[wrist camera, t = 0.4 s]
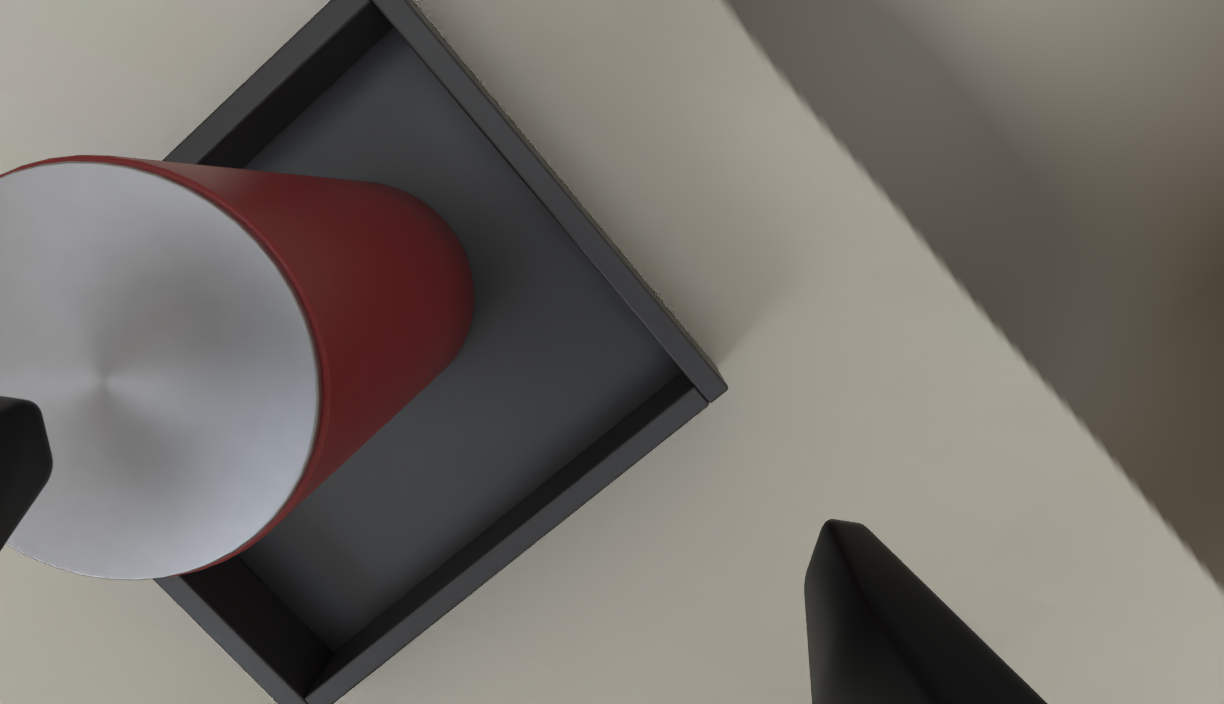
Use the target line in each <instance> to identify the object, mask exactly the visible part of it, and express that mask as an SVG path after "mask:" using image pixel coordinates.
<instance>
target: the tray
mask: <svg viewBox="0 0 1224 704" xmlns="http://www.w3.org/2000/svg"><path fill="white" fill-rule="evenodd" d="M162 161H166V162H176V163H186V164H196V165H206V166H216V167H226V168H236V169H246V170H256V171H266V172H276V173H286V174H296V175H306V176H316V177H326V178H336V179H346V180H356V181H366V182H373V183H380V184H385V185H388V186H391V187H395V188H398V189H400V190H402V191H405V192H407V193H409V194H411V195H413V196H415V197H416V198H418V199H419V200H421V201H423V202H424V203H426V204H427V205H428V206H429V207H431V208H432V209H433V210H434V211H436V212H437V213H438V215H439V216H440V217H441V218H442V219H443V220H444V221H445V222H446V223H447V224H448V226H449V227H450V228H451V229H452V231H453V232H454V233H455V235H456V237H457V238H458V240H459V242H460V244H461V245H462V247H463V250H464V252H465V254H466V257H467V259H468V262H469V266H470V270H471V273H472V279H473V286H474V307H473V315H472V320H471V324H470V327H469V331H468V333H467V336H466V338H465V341H464V343H463V345H462V347H461V348H460V350H459V352H458V354H457V355H456V357H455V358H454V359H453V360H452V362H451V363H450V364H449V365H448V367H447V368H446V369H444V370H443V371H442V372H441V373H440V374H439V375H438V376H437V377H436V378H435V379H434V380H433V381H432V382H431V383H430V384H429V385H428V386H426V387H425V388H424V389H423V390H422V391H421V392H420V393H419V394H418V395H417V396H416V397H415V398H414V399H412V400H411V401H410V402H409V403H408V404H407V405H406V406H405V407H404V408H403V409H402V410H401V411H399V412H398V413H397V414H396V415H395V416H394V417H393V418H392V419H391V420H390V421H389V422H388V423H387V424H385V425H384V426H383V427H382V428H381V429H380V430H379V431H378V432H377V433H376V434H375V435H374V436H373V437H371V438H370V439H369V440H368V441H367V442H366V443H365V444H364V445H363V446H362V447H361V448H360V449H359V450H357V451H356V452H355V453H354V454H353V455H352V456H351V457H350V458H349V459H348V460H347V461H346V462H345V463H343V464H342V465H341V466H340V467H339V468H338V469H337V470H336V471H335V472H334V473H333V474H332V475H330V476H329V477H328V478H327V479H326V480H325V481H324V482H323V483H322V484H321V485H320V486H319V487H318V488H316V489H315V490H314V491H313V492H312V493H311V494H310V495H309V496H308V497H307V498H306V499H305V500H304V501H302V502H301V503H300V504H299V505H298V506H297V507H296V508H295V509H294V510H293V511H292V512H291V513H290V514H288V515H287V516H286V517H285V518H284V519H283V520H282V521H281V522H280V523H279V524H278V525H277V526H276V527H274V528H273V529H272V530H271V531H270V532H269V533H268V534H267V535H266V536H264V537H263V538H261V539H260V540H259V541H257V542H256V543H255V544H253V545H252V546H250V547H249V548H248V549H246V550H244V551H243V552H241V553H239V554H237V555H235V556H233V557H231V558H230V559H228V560H226V561H224V562H221V563H219V564H216V565H213V566H211V567H208V568H205V569H203V570H200V571H196V572H191V573H187V574H183V575H178V576H174V577H164V578H154V579H153V580H154V581H155V582H156V583H157V584H158V585H159V586H160V587H161V588H162V589H164V590H165V591H166V592H167V593H168V594H169V595H170V596H171V597H172V598H173V599H174V600H175V601H176V602H177V603H178V604H179V605H180V606H181V607H182V608H183V609H184V610H185V611H186V612H187V613H188V614H189V615H190V616H191V617H192V618H193V619H194V620H195V621H196V622H197V623H198V624H199V625H200V626H201V627H202V628H203V629H204V630H205V631H206V632H207V633H208V634H209V635H210V636H211V637H212V638H213V639H214V640H215V641H216V642H217V643H218V644H219V645H220V646H221V647H222V648H223V649H224V650H225V651H226V652H227V653H228V654H229V655H230V656H231V657H232V658H233V659H234V660H235V661H236V662H237V663H238V664H239V665H240V666H241V667H242V668H243V669H244V670H245V671H246V672H247V673H248V674H249V675H250V676H251V677H252V678H253V679H254V680H255V681H256V682H257V683H258V684H259V685H260V686H261V687H262V688H263V689H264V690H265V691H266V692H267V693H268V694H269V695H270V696H271V697H272V698H273V699H274V700H275V701H276V702H277V703H278V704H333V703H335V702H336V701H337V700H338V699H340V698H341V697H342V696H343V695H345V694H346V693H347V692H348V691H350V690H351V689H352V688H354V687H355V686H356V685H357V684H359V683H360V682H361V681H362V680H364V679H365V678H366V677H367V676H369V675H370V674H371V673H372V672H374V671H375V670H376V669H377V668H379V667H380V666H381V665H382V664H384V663H385V662H386V661H387V660H389V659H390V658H391V657H393V656H394V655H395V654H396V653H398V652H399V651H400V650H401V649H403V648H404V647H405V646H406V645H408V644H409V643H410V642H411V641H413V640H414V639H415V638H416V637H418V636H419V635H420V634H421V633H423V632H424V631H425V630H426V629H428V628H429V627H430V626H432V625H433V624H434V623H435V622H437V621H438V620H439V619H440V618H442V617H443V616H444V615H445V614H447V613H448V612H449V611H450V610H452V609H453V608H454V607H455V606H457V605H458V604H459V603H460V602H462V601H463V600H464V599H465V598H467V597H468V596H469V595H471V594H472V593H473V592H474V591H476V590H477V589H478V588H479V587H481V586H482V585H483V584H484V583H486V582H487V581H488V580H489V579H491V578H492V577H493V576H494V575H496V574H497V573H498V572H499V571H501V570H502V569H503V568H504V567H506V566H507V565H508V564H510V563H511V562H512V561H513V560H515V559H516V558H517V557H518V556H520V555H521V554H522V553H523V552H525V551H526V550H527V549H528V548H530V547H531V546H532V545H533V544H535V543H536V542H537V541H538V540H540V539H541V538H542V537H543V536H545V535H546V534H547V533H549V532H550V531H551V530H552V529H554V528H555V527H556V526H557V525H559V524H560V523H561V522H562V521H564V520H565V519H566V518H567V517H569V516H570V515H571V514H572V513H574V512H575V511H576V510H577V509H579V508H580V507H581V506H583V505H584V504H585V503H586V502H588V501H589V500H590V499H591V498H593V497H594V496H595V495H596V494H598V493H599V492H600V491H601V490H603V489H604V488H605V487H606V486H608V485H609V484H610V483H611V482H613V481H614V480H615V479H616V478H618V477H619V476H620V475H622V474H623V473H624V472H625V471H627V470H628V469H629V468H630V467H632V466H633V465H634V464H635V463H637V462H638V461H639V460H640V459H642V458H643V457H644V456H645V455H647V454H648V453H649V452H650V451H652V450H653V449H654V448H655V447H657V446H658V445H659V444H661V443H662V442H663V441H664V440H666V439H667V438H668V437H669V436H671V435H672V434H673V433H674V432H676V431H677V430H678V429H679V428H681V427H682V426H683V425H684V424H686V423H687V422H688V421H689V420H691V419H692V418H693V417H694V416H696V415H697V414H698V413H700V412H701V411H702V410H703V409H705V408H706V407H707V406H708V405H709V403H711V402H713V401H714V400H716V399H717V398H718V397H719V396H721V395H722V394H723V393H724V392H726V391H727V390H728V386H727V384H726V382H725V381H724V379H723V377H722V376H721V374H720V372H719V371H718V369H717V367H716V366H715V365H714V363H713V362H712V361H711V360H710V359H709V357H708V356H707V355H706V354H705V353H704V351H703V350H702V349H701V348H700V347H699V345H698V344H697V343H696V342H695V341H694V339H693V338H692V337H691V336H690V334H689V333H688V332H687V331H686V330H685V328H684V327H683V326H682V325H681V324H680V322H679V321H678V320H677V319H676V318H675V316H674V315H673V314H672V313H671V312H670V310H669V309H668V308H667V307H666V306H665V304H664V303H663V302H662V301H661V300H660V298H659V297H658V296H657V295H656V294H655V292H654V291H653V290H652V289H651V287H650V286H649V285H648V284H647V283H646V281H645V280H644V279H643V278H642V277H641V275H640V274H639V273H638V272H637V271H636V269H635V268H634V267H633V266H632V265H631V263H630V262H629V261H628V260H627V259H626V257H625V256H624V255H623V254H622V253H621V251H620V250H619V249H618V248H617V247H616V245H615V244H614V243H613V242H612V240H611V239H610V238H609V237H608V236H607V234H606V233H605V232H604V231H603V230H602V228H601V227H600V226H599V225H598V224H597V222H596V221H595V220H594V219H593V218H592V216H591V215H590V214H589V213H588V212H587V210H586V209H585V208H584V207H583V206H582V204H581V203H580V202H579V201H578V200H577V198H576V197H575V196H574V195H573V193H572V192H571V191H570V190H569V189H568V187H567V186H566V185H565V184H564V183H563V181H562V180H561V179H560V178H559V177H558V175H557V174H556V173H555V172H554V171H553V169H552V168H551V167H550V166H549V165H548V163H547V162H546V161H545V160H544V159H543V157H542V156H541V155H540V154H539V153H538V151H537V150H536V149H535V148H534V146H533V145H532V144H531V143H530V142H529V140H528V139H527V138H526V137H525V136H524V134H523V133H522V132H521V131H520V130H519V128H518V127H517V126H516V125H515V124H514V122H513V121H512V120H511V119H510V118H509V116H508V115H507V114H506V113H505V112H504V110H503V109H502V108H501V107H500V106H499V104H498V103H497V102H496V101H495V99H494V98H493V97H492V96H491V95H490V93H489V92H488V91H487V90H486V89H485V87H484V86H483V85H482V84H481V83H480V81H479V80H478V79H477V78H476V77H475V75H474V74H473V73H472V72H471V71H470V69H469V68H468V67H467V66H466V65H465V63H464V62H463V61H462V60H461V59H460V57H459V56H458V55H457V54H456V52H455V51H454V50H453V49H452V48H451V46H450V45H449V44H448V43H447V42H446V40H445V39H444V38H443V37H442V36H441V34H440V33H439V32H438V31H437V30H436V28H435V27H434V26H433V25H432V24H431V22H430V21H429V20H428V19H427V18H426V16H425V15H424V14H423V13H422V12H421V10H420V9H419V8H418V7H417V5H416V4H415V3H414V2H413V1H412V0H331V1H330V2H329V3H328V4H327V5H325V6H324V7H323V8H322V9H321V10H320V11H319V12H318V13H317V14H316V15H315V16H314V17H313V18H312V19H311V20H310V21H309V22H308V23H307V24H305V25H304V26H303V27H302V28H301V29H300V30H299V31H298V32H297V33H296V34H295V35H294V36H293V37H292V38H291V39H290V40H289V41H288V42H287V43H285V44H284V45H283V46H282V47H281V48H280V49H279V50H278V51H277V52H276V53H275V54H274V55H273V56H272V57H271V58H270V59H269V60H268V61H267V62H265V63H264V64H263V65H262V66H261V67H260V68H259V69H258V70H257V71H256V72H255V73H254V74H253V75H252V76H251V77H250V78H249V79H248V80H247V81H246V82H244V83H243V84H242V85H241V86H240V87H239V88H238V89H237V90H236V91H235V92H234V93H233V94H232V95H231V96H230V97H229V98H228V99H227V100H226V101H224V102H223V103H222V104H221V105H220V106H219V107H218V108H217V109H216V110H215V111H214V112H213V113H212V114H211V115H210V116H209V117H208V118H207V119H206V120H204V121H203V122H202V123H201V124H200V125H199V126H198V127H197V128H196V129H195V130H194V131H193V132H192V133H191V134H190V135H189V136H188V137H187V138H186V139H184V140H183V141H182V142H181V143H180V144H179V145H178V146H177V147H176V148H175V149H174V150H173V151H172V152H171V153H170V154H169V155H168V156H167V157H166V158H164V159H163V160H162ZM708 402H709V403H708Z"/></svg>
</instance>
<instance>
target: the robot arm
mask: <svg viewBox="0 0 1224 704" xmlns="http://www.w3.org/2000/svg"><path fill="white" fill-rule="evenodd" d="M52 468H53V457H52V453H51V448H50V444H49V440H48V436H47V432H46V428H45V423H44V419H43V415H42V412H41V409H40V408H39V407H38V405H37V404H36V403H34V402H32V401H30V400H25V399H19V398H12V397H5V396H0V551H1V549H2V548H3V546H4V545H5V543H6V542H7V540H8V539H9V538H10V536H11V535H12V533H13V532H14V530H15V529H16V527H17V526H18V524H19V523H20V522H21V520H22V519H23V517H24V516H25V514H26V513H27V511H28V510H29V508H30V507H31V506H32V504H33V503H34V501H35V500H36V498H37V497H38V495H39V494H40V493H41V491H42V490H43V488H44V487H45V485H46V484H47V482H48V480H49V478H50V476H51V473H52ZM804 595H805V609H806V623H807V637H808V651H809V665H810V679H811V693H812V704H1047V703H1046V702H1045V701H1044V700H1043V699H1042V698H1041V697H1040V696H1039V695H1038V694H1037V693H1036V692H1035V691H1034V690H1033V689H1032V688H1031V687H1030V686H1029V685H1028V684H1027V683H1026V682H1025V681H1024V680H1023V679H1022V678H1021V677H1020V676H1019V675H1018V674H1017V673H1016V672H1014V671H1013V670H1012V669H1011V668H1010V667H1009V666H1008V665H1007V664H1006V663H1005V662H1004V661H1003V660H1002V659H1001V658H1000V657H999V656H998V655H997V654H996V653H995V652H994V651H993V650H992V649H991V648H990V647H989V646H988V645H987V644H986V643H985V642H984V641H983V640H982V639H981V638H980V637H979V636H978V635H977V634H976V633H975V632H973V631H972V630H971V629H970V628H969V627H968V626H967V625H966V624H965V623H964V622H963V621H962V620H961V619H960V618H959V617H958V616H957V615H956V614H955V613H954V612H953V611H952V610H951V609H950V608H949V607H948V606H947V605H946V604H945V603H944V602H943V601H942V600H941V599H940V598H939V597H938V596H937V595H936V594H935V593H934V592H933V591H931V590H930V589H929V588H928V587H927V586H926V585H925V584H924V583H923V582H922V581H921V580H920V579H919V578H918V577H917V576H916V575H915V574H914V573H913V572H912V571H911V570H910V569H909V568H908V567H907V566H906V565H905V564H904V563H903V562H902V561H901V560H900V559H899V558H898V557H897V556H896V555H895V554H894V553H893V552H892V551H890V550H889V549H888V548H887V547H886V546H885V545H884V544H883V543H882V542H881V541H880V540H879V539H878V538H877V537H876V536H875V535H874V534H873V533H872V532H871V531H870V530H869V529H868V528H867V527H866V526H864V525H863V524H860V523H856V522H849V521H842V520H836V519H830V520H828V521H826V522H825V524H824V525H823V527H822V529H821V531H820V534H819V537H818V540H817V543H816V546H815V548H814V551H813V554H812V557H811V560H810V563H809V566H808V569H807V572H806V577H805V584H804Z"/></svg>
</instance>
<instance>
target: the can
mask: <svg viewBox="0 0 1224 704" xmlns="http://www.w3.org/2000/svg"><path fill="white" fill-rule="evenodd" d="M473 307H474V286H473V279H472V273H471V270H470V266H469V262H468V259H467V257H466V254H465V252H464V250H463V247H462V245H461V244H460V242H459V240H458V238H457V237H456V235H455V233H454V232H453V231H452V229H451V228H450V227H449V226H448V224H447V223H446V222H445V221H444V220H443V219H442V218H441V217H440V216H439V215H438V213H437V212H436V211H434V210H433V209H432V208H431V207H429V206H428V205H427V204H426V203H424V202H423V201H421V200H419V199H418V198H416V197H415V196H413V195H411V194H409V193H407V192H405V191H402V190H400V189H398V188H395V187H391V186H388V185H385V184H380V183H373V182H366V181H356V180H346V179H336V178H326V177H316V176H306V175H296V174H286V173H276V172H266V171H256V170H246V169H236V168H226V167H216V166H206V165H196V164H186V163H176V162H166V161H156V160H146V159H136V158H126V157H116V156H98V155H75V156H67V157H58V158H50V159H46V160H42V161H38V162H34V163H31V164H27V165H23V166H20V167H18V168H16V169H13V170H11V171H9V172H6V173H4V174H2V175H0V396H5V397H12V398H19V399H25V400H30V401H32V402H34V403H36V404H37V405H38V407H39V408H40V409H41V412H42V415H43V419H44V423H45V428H46V432H47V436H48V440H49V444H50V448H51V453H52V457H53V468H52V473H51V476H50V478H49V480H48V482H47V484H46V485H45V487H44V488H43V490H42V491H41V493H40V494H39V495H38V497H37V498H36V500H35V501H34V503H33V504H32V506H31V507H30V508H29V510H28V511H27V513H26V514H25V516H24V517H23V519H22V520H21V522H20V523H19V524H18V526H17V527H16V529H15V530H14V532H13V533H12V535H11V536H10V538H9V539H8V540H7V542H6V543H5V544H6V545H8V546H10V547H12V548H14V549H16V550H17V551H19V552H21V553H23V554H25V555H27V556H29V557H31V558H33V559H35V560H38V561H40V562H43V563H45V564H48V565H50V566H53V567H55V568H58V569H62V570H65V571H69V572H73V573H77V574H80V575H84V576H91V577H98V578H105V579H115V580H143V579H154V578H164V577H174V576H178V575H183V574H187V573H191V572H196V571H200V570H203V569H205V568H208V567H211V566H213V565H216V564H219V563H221V562H224V561H226V560H228V559H230V558H231V557H233V556H235V555H237V554H239V553H241V552H243V551H244V550H246V549H248V548H249V547H250V546H252V545H253V544H255V543H256V542H257V541H259V540H260V539H261V538H263V537H264V536H266V535H267V534H268V533H269V532H270V531H271V530H272V529H273V528H274V527H276V526H277V525H278V524H279V523H280V522H281V521H282V520H283V519H284V518H285V517H286V516H287V515H288V514H290V513H291V512H292V511H293V510H294V509H295V508H296V507H297V506H298V505H299V504H300V503H301V502H302V501H304V500H305V499H306V498H307V497H308V496H309V495H310V494H311V493H312V492H313V491H314V490H315V489H316V488H318V487H319V486H320V485H321V484H322V483H323V482H324V481H325V480H326V479H327V478H328V477H329V476H330V475H332V474H333V473H334V472H335V471H336V470H337V469H338V468H339V467H340V466H341V465H342V464H343V463H345V462H346V461H347V460H348V459H349V458H350V457H351V456H352V455H353V454H354V453H355V452H356V451H357V450H359V449H360V448H361V447H362V446H363V445H364V444H365V443H366V442H367V441H368V440H369V439H370V438H371V437H373V436H374V435H375V434H376V433H377V432H378V431H379V430H380V429H381V428H382V427H383V426H384V425H385V424H387V423H388V422H389V421H390V420H391V419H392V418H393V417H394V416H395V415H396V414H397V413H398V412H399V411H401V410H402V409H403V408H404V407H405V406H406V405H407V404H408V403H409V402H410V401H411V400H412V399H414V398H415V397H416V396H417V395H418V394H419V393H420V392H421V391H422V390H423V389H424V388H425V387H426V386H428V385H429V384H430V383H431V382H432V381H433V380H434V379H435V378H436V377H437V376H438V375H439V374H440V373H441V372H442V371H443V370H444V369H446V368H447V367H448V365H449V364H450V363H451V362H452V360H453V359H454V358H455V357H456V355H457V354H458V352H459V350H460V348H461V347H462V345H463V343H464V341H465V338H466V336H467V333H468V331H469V327H470V324H471V320H472V315H473Z"/></svg>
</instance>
